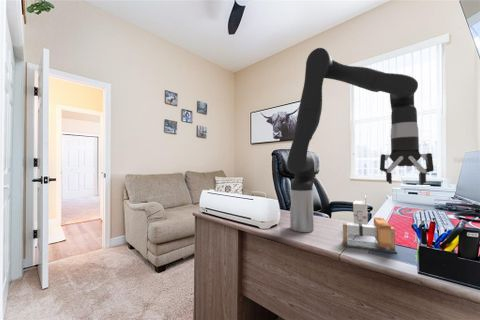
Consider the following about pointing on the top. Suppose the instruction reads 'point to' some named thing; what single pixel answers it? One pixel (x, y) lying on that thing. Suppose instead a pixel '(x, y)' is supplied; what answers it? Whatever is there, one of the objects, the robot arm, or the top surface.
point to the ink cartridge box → (360, 212)
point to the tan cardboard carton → (383, 232)
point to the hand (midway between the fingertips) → (405, 184)
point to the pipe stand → (365, 231)
